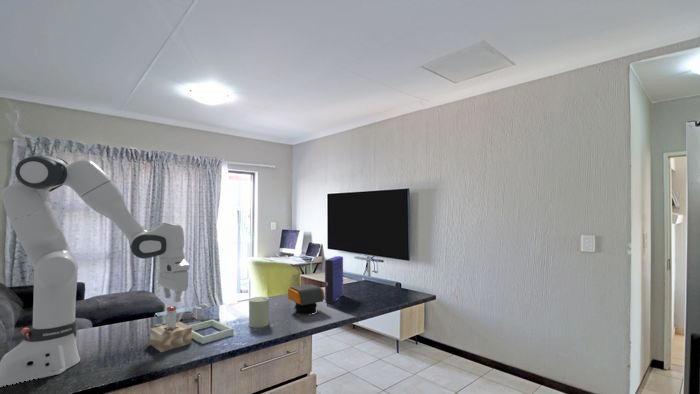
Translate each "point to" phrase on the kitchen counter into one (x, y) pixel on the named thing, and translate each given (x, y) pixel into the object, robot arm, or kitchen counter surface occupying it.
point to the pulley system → (188, 318)
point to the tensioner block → (170, 337)
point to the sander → (306, 298)
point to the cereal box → (333, 278)
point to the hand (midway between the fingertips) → (172, 299)
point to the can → (258, 312)
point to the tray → (208, 338)
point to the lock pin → (171, 318)
